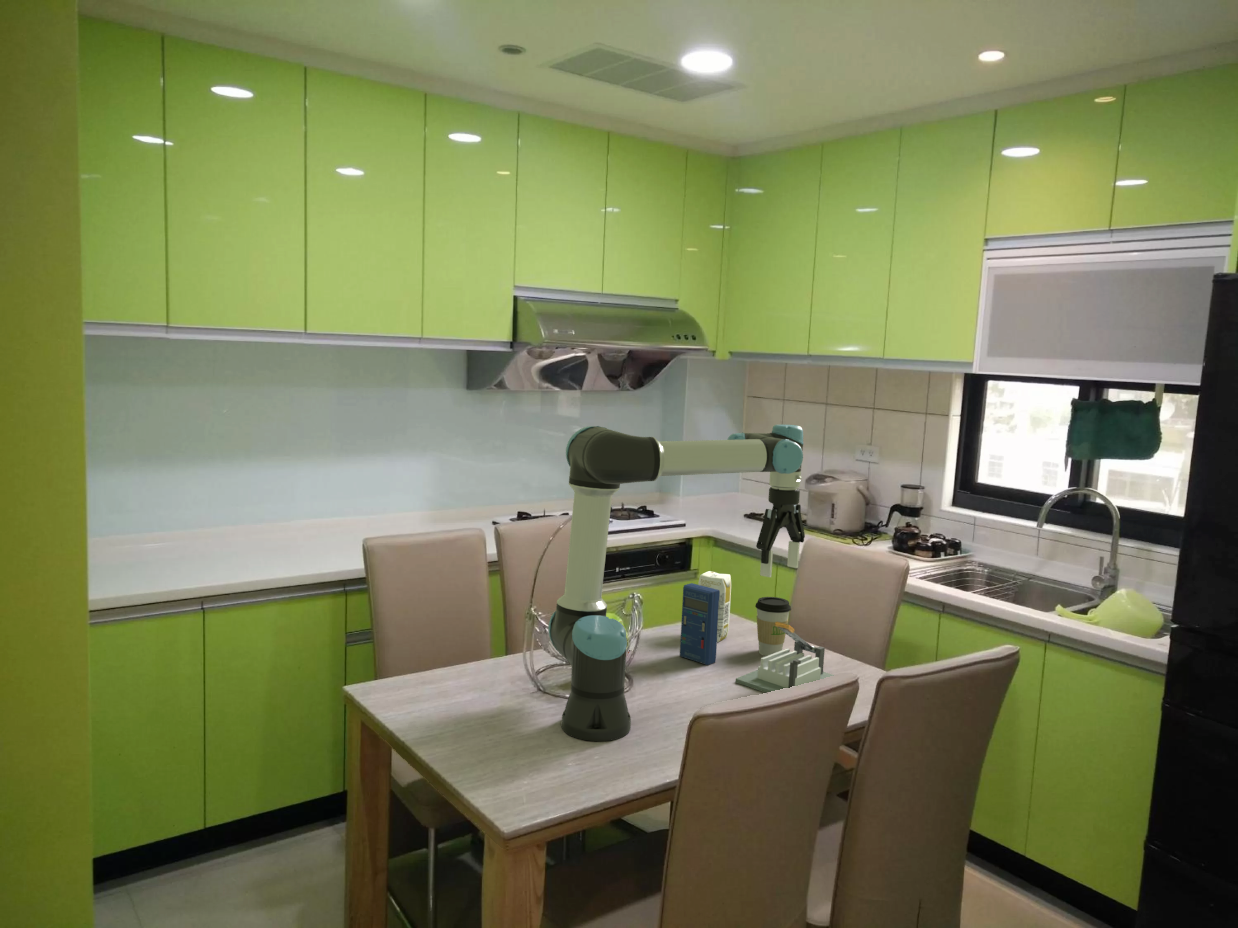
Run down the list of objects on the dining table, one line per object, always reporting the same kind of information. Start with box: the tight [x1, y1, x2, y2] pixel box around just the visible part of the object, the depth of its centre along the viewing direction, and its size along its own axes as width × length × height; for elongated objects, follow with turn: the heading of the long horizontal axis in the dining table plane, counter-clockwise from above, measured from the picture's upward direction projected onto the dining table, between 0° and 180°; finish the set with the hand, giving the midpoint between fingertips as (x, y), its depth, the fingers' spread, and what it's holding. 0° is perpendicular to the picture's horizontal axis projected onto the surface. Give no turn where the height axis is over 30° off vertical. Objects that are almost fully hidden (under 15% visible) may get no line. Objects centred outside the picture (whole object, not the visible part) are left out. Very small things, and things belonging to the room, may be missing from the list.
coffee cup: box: [755, 596, 792, 657], centre depth 250 cm, size 10×10×15 cm
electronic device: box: [679, 582, 720, 666], centre depth 242 cm, size 10×5×20 cm, turn 48°
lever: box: [775, 622, 818, 654], centre depth 229 cm, size 17×4×2 cm
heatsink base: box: [735, 640, 835, 694], centre depth 228 cm, size 22×18×9 cm
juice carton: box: [697, 570, 732, 643], centre depth 261 cm, size 8×9×19 cm
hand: (779, 571), depth 224 cm, fingers open, 13 cm apart
